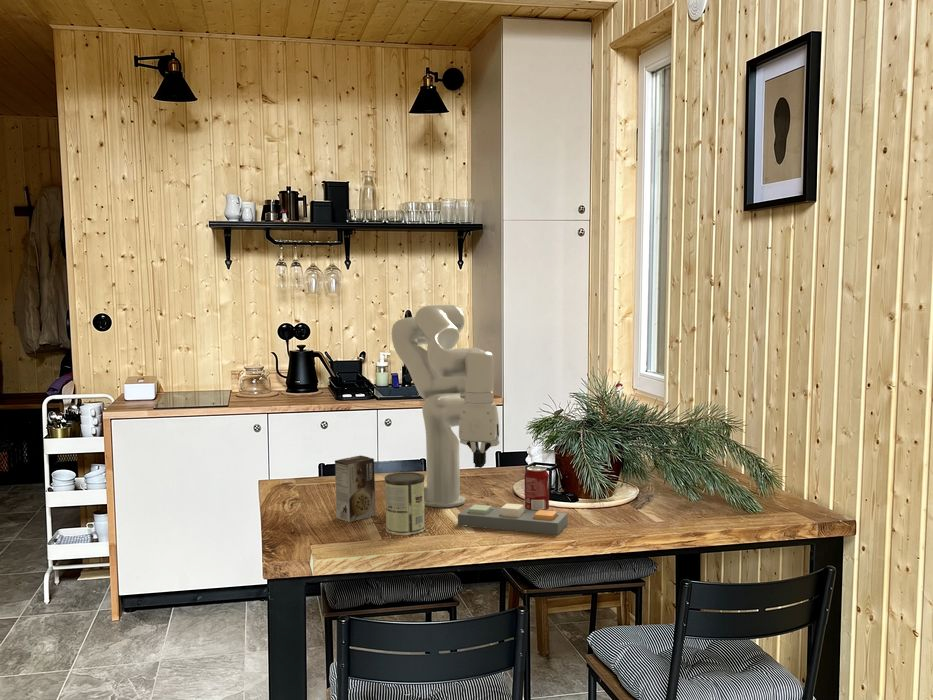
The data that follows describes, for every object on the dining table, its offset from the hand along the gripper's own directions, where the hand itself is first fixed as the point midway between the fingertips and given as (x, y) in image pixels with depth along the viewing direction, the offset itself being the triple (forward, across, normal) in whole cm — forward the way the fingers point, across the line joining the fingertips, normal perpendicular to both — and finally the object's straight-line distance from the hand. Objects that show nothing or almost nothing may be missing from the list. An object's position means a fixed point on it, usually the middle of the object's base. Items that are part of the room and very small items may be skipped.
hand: (479, 466), depth 234 cm
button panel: (+15, +9, 0) cm, 18 cm away
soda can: (+15, +11, +16) cm, 25 cm away
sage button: (+14, 0, 0) cm, 14 cm away
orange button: (+13, +18, 0) cm, 23 cm away
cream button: (+12, +9, 0) cm, 15 cm away
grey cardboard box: (+15, -34, -6) cm, 38 cm away
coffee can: (+15, -16, -14) cm, 26 cm away
